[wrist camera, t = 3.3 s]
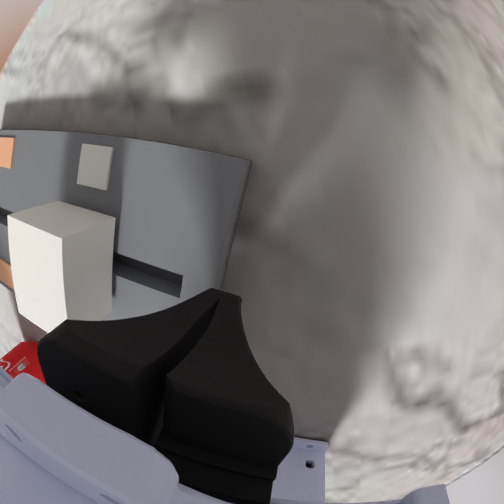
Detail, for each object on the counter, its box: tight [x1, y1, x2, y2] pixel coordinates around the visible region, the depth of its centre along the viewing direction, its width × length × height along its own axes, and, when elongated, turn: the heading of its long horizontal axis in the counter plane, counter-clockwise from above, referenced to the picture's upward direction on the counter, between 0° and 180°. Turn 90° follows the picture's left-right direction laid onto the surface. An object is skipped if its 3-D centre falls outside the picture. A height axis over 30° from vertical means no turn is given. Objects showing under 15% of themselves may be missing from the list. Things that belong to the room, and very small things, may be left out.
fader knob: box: [7, 201, 116, 333], centre depth 11 cm, size 4×5×5 cm
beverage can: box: [0, 340, 47, 385], centre depth 14 cm, size 5×5×12 cm
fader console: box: [0, 129, 252, 321], centre depth 14 cm, size 21×12×2 cm, turn 76°
